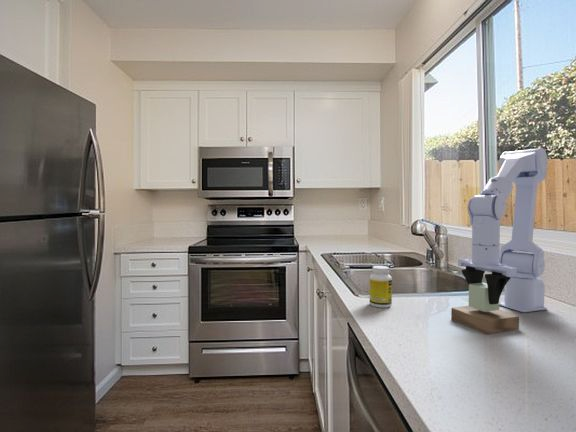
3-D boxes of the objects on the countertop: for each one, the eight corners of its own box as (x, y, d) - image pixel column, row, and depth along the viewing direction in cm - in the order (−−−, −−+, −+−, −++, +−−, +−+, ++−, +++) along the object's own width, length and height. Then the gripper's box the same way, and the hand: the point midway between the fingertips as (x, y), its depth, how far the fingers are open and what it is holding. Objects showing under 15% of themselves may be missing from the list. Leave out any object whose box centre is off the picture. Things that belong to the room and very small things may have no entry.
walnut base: (481, 315, 87) (482, 304, 87) (518, 329, 78) (519, 316, 77) (451, 319, 84) (451, 307, 84) (486, 334, 74) (486, 320, 74)
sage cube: (482, 304, 83) (483, 282, 83) (499, 309, 79) (499, 286, 79) (468, 306, 82) (468, 284, 82) (484, 311, 78) (484, 288, 77)
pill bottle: (392, 309, 92) (393, 269, 92) (369, 307, 94) (370, 268, 93) (390, 302, 98) (391, 265, 98) (369, 301, 100) (369, 264, 99)
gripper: (448, 242, 86) (448, 294, 86) (500, 249, 72) (499, 311, 72) (470, 241, 88) (469, 292, 88) (524, 247, 74) (522, 308, 75)
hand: (484, 300), depth 81 cm, fingers closed on sage cube, 4 cm apart
